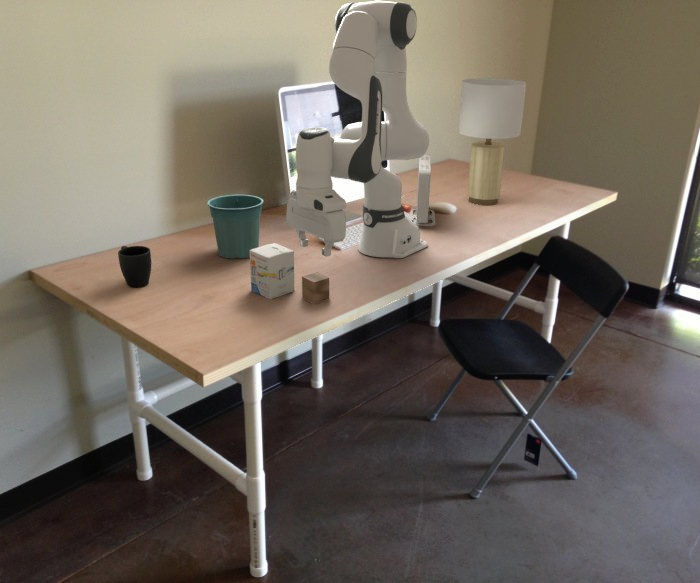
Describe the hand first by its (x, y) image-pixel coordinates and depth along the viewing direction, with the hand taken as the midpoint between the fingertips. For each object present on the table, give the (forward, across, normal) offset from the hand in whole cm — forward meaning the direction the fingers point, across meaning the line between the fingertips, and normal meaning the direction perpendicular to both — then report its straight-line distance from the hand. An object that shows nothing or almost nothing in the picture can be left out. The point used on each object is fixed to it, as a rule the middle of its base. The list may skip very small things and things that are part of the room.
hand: (314, 250), depth 170 cm
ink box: (+13, -12, -6) cm, 18 cm away
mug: (+13, -40, -31) cm, 52 cm away
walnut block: (+13, 0, 0) cm, 13 cm away
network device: (+12, -33, +73) cm, 81 cm away
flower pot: (+13, -42, +3) cm, 44 cm away
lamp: (+11, -34, +107) cm, 113 cm away
